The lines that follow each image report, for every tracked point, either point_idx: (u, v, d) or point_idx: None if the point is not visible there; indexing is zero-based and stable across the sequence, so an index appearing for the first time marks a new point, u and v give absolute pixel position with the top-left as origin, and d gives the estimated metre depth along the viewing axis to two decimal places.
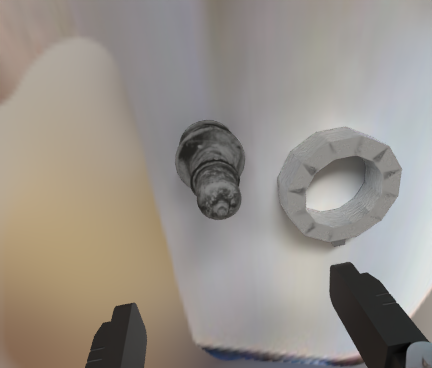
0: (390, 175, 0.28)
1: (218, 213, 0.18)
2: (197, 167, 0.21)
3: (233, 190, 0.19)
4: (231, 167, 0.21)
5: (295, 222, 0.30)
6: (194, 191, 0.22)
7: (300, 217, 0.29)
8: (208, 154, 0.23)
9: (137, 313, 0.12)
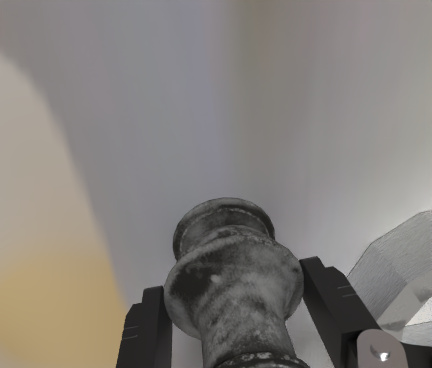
0: None
1: None
2: None
3: None
4: None
5: None
6: None
7: None
8: (237, 309, 0.10)
9: None
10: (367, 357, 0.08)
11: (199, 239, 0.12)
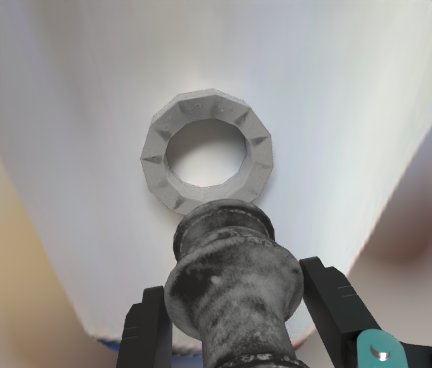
0: (259, 142, 0.25)
1: None
2: None
3: None
4: None
5: (158, 196, 0.26)
6: None
7: (162, 190, 0.26)
8: (237, 310, 0.10)
9: None
10: (367, 357, 0.08)
11: (199, 240, 0.12)
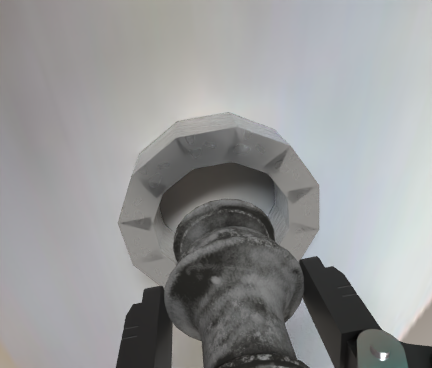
0: (300, 196, 0.16)
1: None
2: None
3: None
4: None
5: (147, 272, 0.18)
6: None
7: (153, 264, 0.17)
8: (237, 311, 0.10)
9: None
10: (367, 357, 0.08)
11: (199, 240, 0.12)
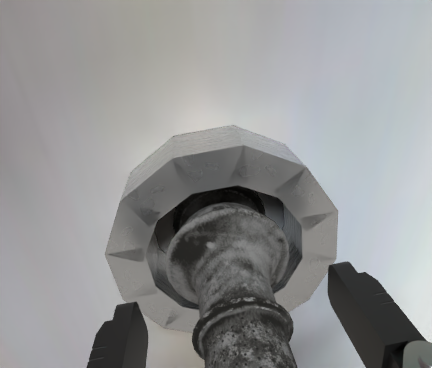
0: (316, 223, 0.14)
1: None
2: (208, 316, 0.10)
3: None
4: (279, 314, 0.10)
5: (139, 307, 0.15)
6: (200, 354, 0.11)
7: (146, 298, 0.15)
8: (229, 268, 0.12)
9: (138, 312, 0.12)
10: None
11: (196, 213, 0.14)
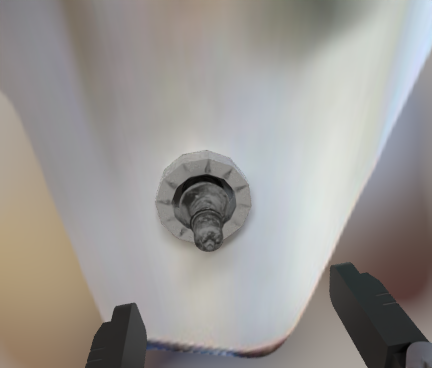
0: (240, 189, 0.35)
1: (207, 248, 0.28)
2: (194, 214, 0.31)
3: (218, 232, 0.28)
4: (218, 214, 0.31)
5: (167, 227, 0.36)
6: (192, 230, 0.31)
7: (170, 223, 0.36)
8: (202, 203, 0.33)
9: (137, 313, 0.12)
10: None
11: (191, 185, 0.35)
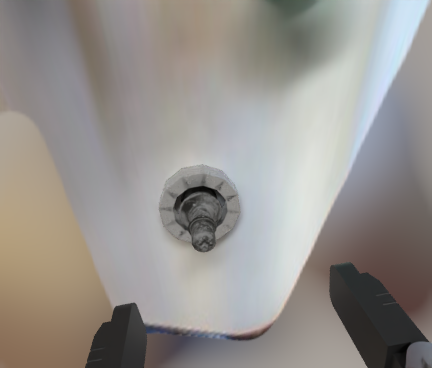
0: (230, 198, 0.41)
1: (202, 250, 0.34)
2: (192, 220, 0.37)
3: (211, 237, 0.35)
4: (211, 220, 0.37)
5: (169, 230, 0.43)
6: (190, 233, 0.38)
7: (172, 226, 0.42)
8: (199, 210, 0.39)
9: (137, 313, 0.12)
10: None
11: (189, 195, 0.41)
